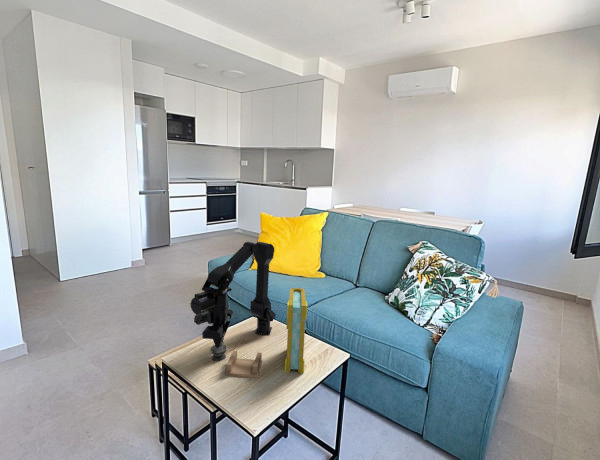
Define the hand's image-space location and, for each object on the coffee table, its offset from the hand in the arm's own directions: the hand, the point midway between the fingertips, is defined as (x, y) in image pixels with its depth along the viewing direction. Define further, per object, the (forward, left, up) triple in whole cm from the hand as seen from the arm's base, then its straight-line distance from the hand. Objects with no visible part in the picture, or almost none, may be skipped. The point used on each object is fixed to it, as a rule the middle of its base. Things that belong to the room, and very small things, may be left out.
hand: (218, 344), depth 121 cm
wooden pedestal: (+6, +11, -5) cm, 13 cm away
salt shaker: (0, 0, -5) cm, 5 cm away
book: (-2, +28, -5) cm, 29 cm away
